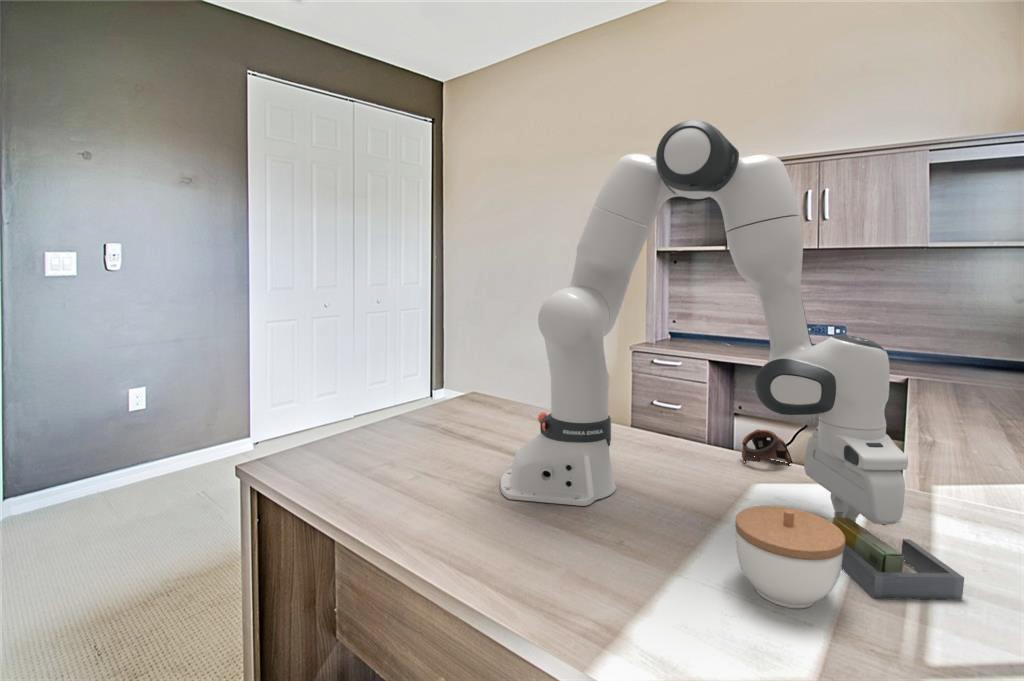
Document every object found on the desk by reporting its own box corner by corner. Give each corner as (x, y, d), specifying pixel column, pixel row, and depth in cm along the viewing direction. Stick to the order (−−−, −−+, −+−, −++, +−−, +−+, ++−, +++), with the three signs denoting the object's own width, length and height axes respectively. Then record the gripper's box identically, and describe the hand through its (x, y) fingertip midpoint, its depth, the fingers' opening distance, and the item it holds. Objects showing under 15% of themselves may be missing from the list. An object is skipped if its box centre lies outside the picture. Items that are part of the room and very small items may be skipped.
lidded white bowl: (733, 609, 67) (737, 525, 66) (731, 559, 79) (734, 486, 78) (850, 632, 63) (857, 542, 62) (830, 576, 75) (835, 499, 73)
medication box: (903, 584, 73) (906, 556, 72) (883, 584, 73) (886, 555, 72) (846, 540, 85) (848, 516, 84) (829, 540, 84) (831, 515, 84)
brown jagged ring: (801, 472, 114) (789, 442, 112) (757, 489, 116) (744, 460, 114) (778, 441, 126) (766, 413, 123) (738, 457, 128) (726, 430, 125)
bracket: (873, 598, 69) (875, 576, 69) (830, 557, 79) (832, 538, 79) (962, 599, 69) (964, 577, 69) (908, 558, 79) (909, 539, 79)
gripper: (796, 422, 95) (792, 498, 96) (870, 462, 74) (863, 558, 76) (833, 422, 94) (828, 498, 96) (917, 462, 74) (909, 558, 76)
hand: (844, 525), depth 86 cm, fingers closed
